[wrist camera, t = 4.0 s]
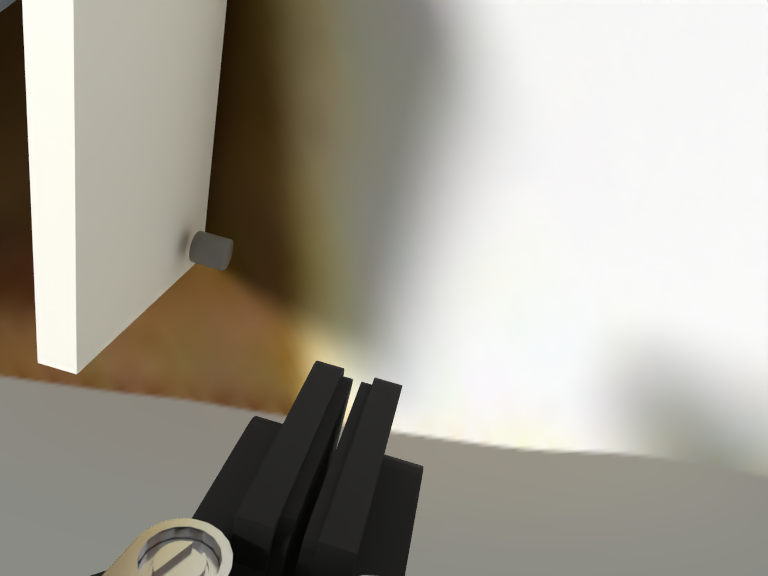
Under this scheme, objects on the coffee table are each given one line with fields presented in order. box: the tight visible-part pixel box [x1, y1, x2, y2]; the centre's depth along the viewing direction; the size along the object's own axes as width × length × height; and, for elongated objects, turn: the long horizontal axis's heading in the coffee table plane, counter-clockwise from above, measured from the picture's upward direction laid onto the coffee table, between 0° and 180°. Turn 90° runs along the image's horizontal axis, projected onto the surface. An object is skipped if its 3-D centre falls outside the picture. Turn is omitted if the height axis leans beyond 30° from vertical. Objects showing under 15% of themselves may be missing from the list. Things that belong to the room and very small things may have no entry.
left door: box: [22, 0, 233, 374], centre depth 16 cm, size 11×2×8 cm, turn 167°
